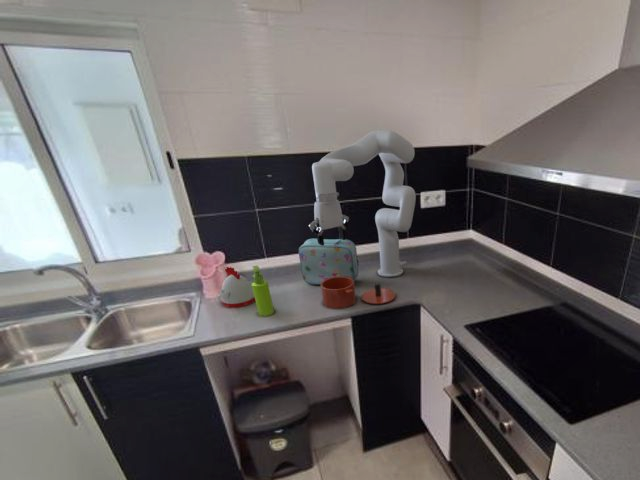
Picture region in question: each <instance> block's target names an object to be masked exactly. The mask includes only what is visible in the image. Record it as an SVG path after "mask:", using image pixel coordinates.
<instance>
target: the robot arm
mask: <svg viewBox="0 0 640 480" xmlns="http://www.w3.org/2000/svg"><path fill="white" fill-rule="evenodd" d="M377 156H379V157H380V160H381V162H382V164H383V167H384V171H385V175H384V182H383V188H382V196H381V197H382V198H381V199H382V202H383V204H385V205H386V206H390V207H397V208H399V209H396V208H388V207H382V208H380V209H378V210H377V211H376V213H375V216H374V220H375V225H376V229H377V234H378V235H377V236H378V250H379V263H380V268H378V269H377V274H378V275H379V276H381V277H384V278H395V277H399V276H401V275H402V274H403V273H404V268H402V267H404V266H407V265H408V263H407V261H406V260H404V261H401V260H400V238H399V235H398V232H400V233H406V232H408V231H409V230H410V229H411V227H412V223H413V217H414V212H415V208H416V201H417V196H416V191H415V189H414V188H413V187H412V186H409V185H404V181H405V172H404V169H403V167H402V165H401V164H410V163H411V162H412V161H413V160H414V158H415V148H414V145H413V144H412V142H410V141H409V140H408V139H406V138H405V137H403V136H402V135H400V134H399V133H398V132H396V131H394V130H381V129H379V130H377V129H376V130H372V131H370V132H368V133H367V134H366V135H364V136H363V137H361V138H360V139H359V140H357V141H355V142H354V143H352V144H348V145H346V146H343V147H340V148H338V149H335V150H332V151H331V152H329V153H327V154H325V156H322V158H320V160H319V161H317V162H313V163H312V165H311V171H312V178H313V184H314V192H315V199H316V201H314V205H313V206H314V207H313V213H314V214H313V215H314V216H313V217H314V220H312V222H310V223H309V224H308V227H309V229H310V230H311V232H312V233H313V234H315V235H316V239H317V241H318V243H319V244H320V245H322V246H323V245H324V239H325V238H324V235H323V232H324V231H326V230H330V229H333V228H338V236H339V238H338V239H343V240H345V239H346V230H347V226H348V225H349V221H350V217H349V216H347V215H345V214H343V212H342V207H341V204H340V201H339V199H338V197H339V196H340V193H339V192H337V185H336V182H347V181H348V180H351V178H352V177H353V175H354V173H355V170H354V167H357V166H362V165H366V164H368V163H369V162H370V161H371V160H373V159H374V158H376V157H377Z"/></svg>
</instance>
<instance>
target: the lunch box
mask: <svg viewBox="0 0 640 480" xmlns="http://www.w3.org/2000/svg"><path fill="white" fill-rule="evenodd" d="M323 239H324V245H323V246H322V245H320V244H319V243H318V241H317V238H309V239H306V240H305V241H304V243H303V244H302V245H300V246H299V247H298V258H299V263H300V269H301V275H302V276H301V277H302V279H303V281H304V282H305V283H307V284H309V285H320V286H321V283H322V282H323V279H325V278H333V277H348V278H351V279H353V281H354V284H355V283H356V281H357V278H358V275H359V265H360V264H361V261H360V258H359V256H358V253H357V246H356V244H355V243H354V242H353V241H352V240H350V239H346V238H345V240H343V239H340V238H337V239H329V238H327V239H326V238H323Z"/></svg>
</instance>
